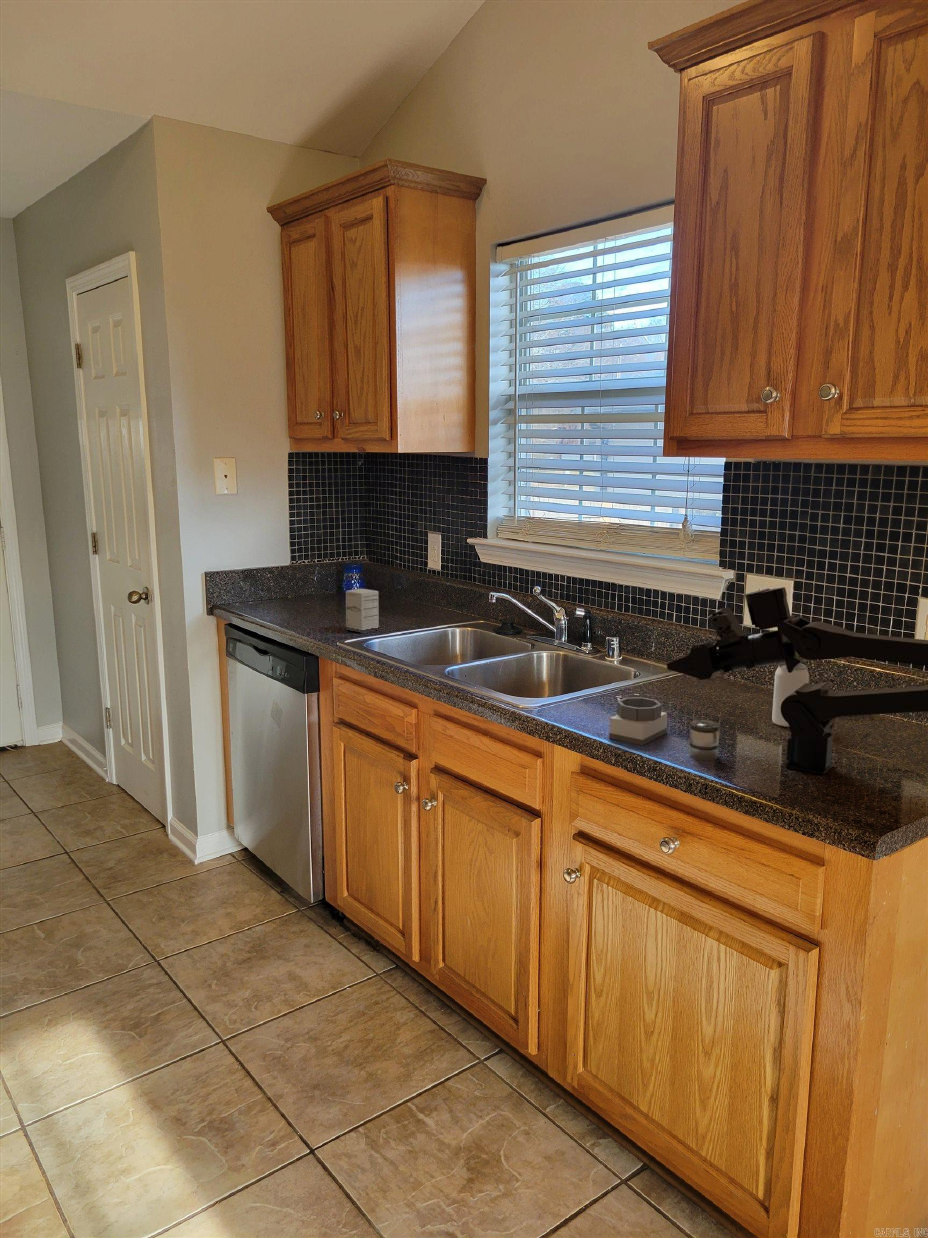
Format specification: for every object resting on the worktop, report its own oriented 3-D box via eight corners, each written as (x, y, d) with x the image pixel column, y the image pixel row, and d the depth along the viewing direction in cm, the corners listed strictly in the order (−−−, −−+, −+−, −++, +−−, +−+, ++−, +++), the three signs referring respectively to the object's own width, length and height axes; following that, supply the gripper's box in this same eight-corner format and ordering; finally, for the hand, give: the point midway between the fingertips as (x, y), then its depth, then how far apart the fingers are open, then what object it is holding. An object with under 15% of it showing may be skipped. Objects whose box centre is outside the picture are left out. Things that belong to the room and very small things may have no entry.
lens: (722, 755, 165) (724, 723, 164) (711, 762, 161) (712, 730, 160) (696, 749, 169) (697, 718, 168) (683, 756, 165) (685, 724, 164)
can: (778, 717, 190) (782, 660, 187) (810, 723, 186) (814, 665, 183) (766, 724, 185) (770, 666, 183) (798, 730, 181) (803, 671, 178)
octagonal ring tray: (668, 733, 178) (669, 700, 177) (643, 745, 171) (645, 712, 169) (632, 725, 183) (633, 694, 182) (607, 737, 175) (608, 704, 174)
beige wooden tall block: (345, 631, 279) (344, 590, 277) (363, 627, 285) (362, 587, 283) (361, 634, 275) (361, 593, 272) (379, 630, 280) (379, 590, 278)
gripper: (765, 602, 169) (687, 617, 179) (730, 608, 154) (647, 625, 163) (778, 661, 169) (699, 673, 178) (744, 673, 154) (660, 686, 163)
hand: (677, 663), depth 171 cm, fingers open, 9 cm apart
